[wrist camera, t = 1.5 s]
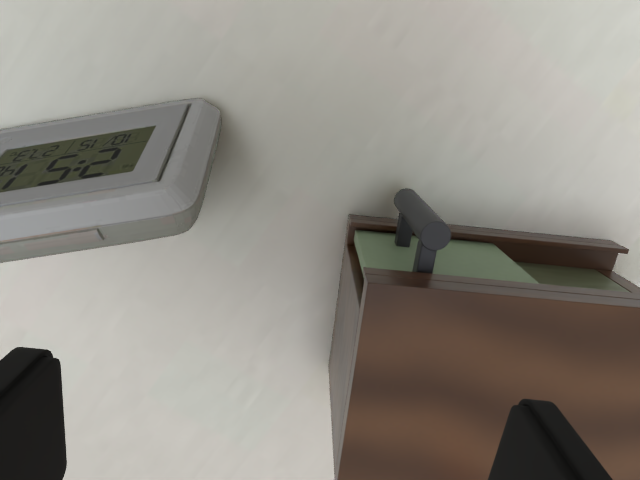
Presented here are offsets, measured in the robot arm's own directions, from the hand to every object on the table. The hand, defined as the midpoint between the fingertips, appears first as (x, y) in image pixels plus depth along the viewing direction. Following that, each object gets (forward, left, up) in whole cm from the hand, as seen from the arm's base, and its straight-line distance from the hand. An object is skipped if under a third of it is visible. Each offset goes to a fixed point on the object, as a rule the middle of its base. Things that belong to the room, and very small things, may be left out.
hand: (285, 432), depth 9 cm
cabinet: (+4, +14, -21) cm, 25 cm away
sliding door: (-2, +8, -20) cm, 21 cm away
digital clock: (+2, -12, -21) cm, 25 cm away
